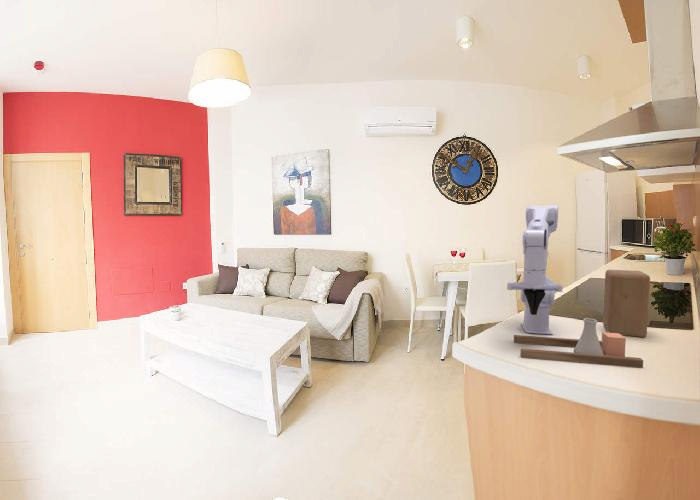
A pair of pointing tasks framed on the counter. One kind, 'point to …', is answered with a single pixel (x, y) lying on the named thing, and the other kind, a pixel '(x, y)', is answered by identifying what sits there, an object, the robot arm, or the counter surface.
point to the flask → (589, 339)
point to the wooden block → (626, 302)
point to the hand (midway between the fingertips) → (533, 313)
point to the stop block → (613, 344)
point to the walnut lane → (569, 355)
